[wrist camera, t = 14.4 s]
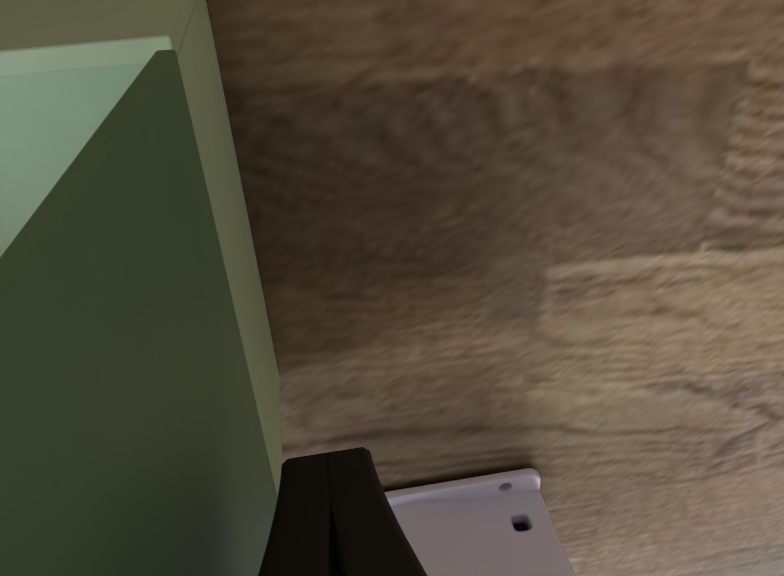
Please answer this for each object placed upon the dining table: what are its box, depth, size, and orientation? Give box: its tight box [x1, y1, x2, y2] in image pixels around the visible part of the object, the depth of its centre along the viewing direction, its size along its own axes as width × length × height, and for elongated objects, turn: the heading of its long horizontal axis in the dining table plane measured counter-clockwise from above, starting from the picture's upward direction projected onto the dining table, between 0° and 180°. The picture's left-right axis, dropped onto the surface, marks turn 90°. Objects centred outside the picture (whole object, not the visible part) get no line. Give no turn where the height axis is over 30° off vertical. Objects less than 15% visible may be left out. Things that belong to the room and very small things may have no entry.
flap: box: [0, 49, 278, 576], centre depth 10 cm, size 8×13×1 cm
